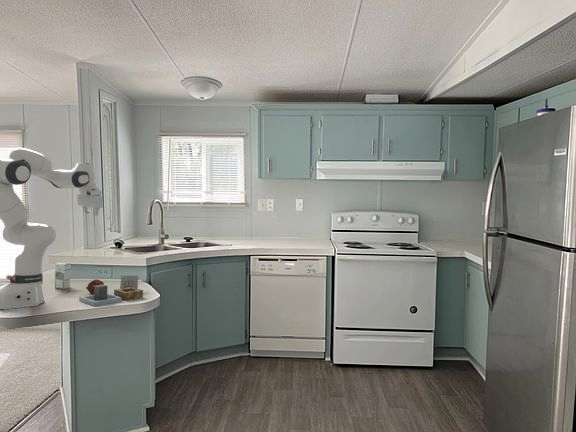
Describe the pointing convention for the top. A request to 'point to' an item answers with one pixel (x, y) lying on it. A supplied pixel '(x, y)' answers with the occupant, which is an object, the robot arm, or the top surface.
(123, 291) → the holder
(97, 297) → the plug
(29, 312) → the top surface
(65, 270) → the syrup box
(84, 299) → the tray
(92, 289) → the brown rounded piece
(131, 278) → the electrical switch
